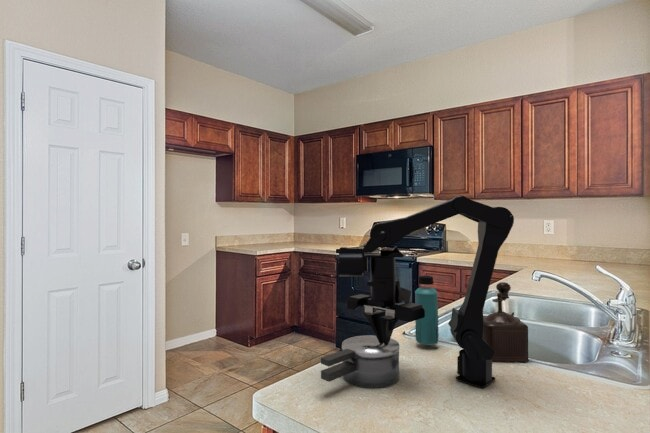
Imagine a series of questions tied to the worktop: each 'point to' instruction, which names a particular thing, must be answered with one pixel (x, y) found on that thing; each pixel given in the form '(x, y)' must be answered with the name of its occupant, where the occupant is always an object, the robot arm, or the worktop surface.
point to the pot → (366, 371)
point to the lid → (361, 349)
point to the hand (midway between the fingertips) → (384, 344)
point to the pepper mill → (506, 332)
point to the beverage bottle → (427, 312)
